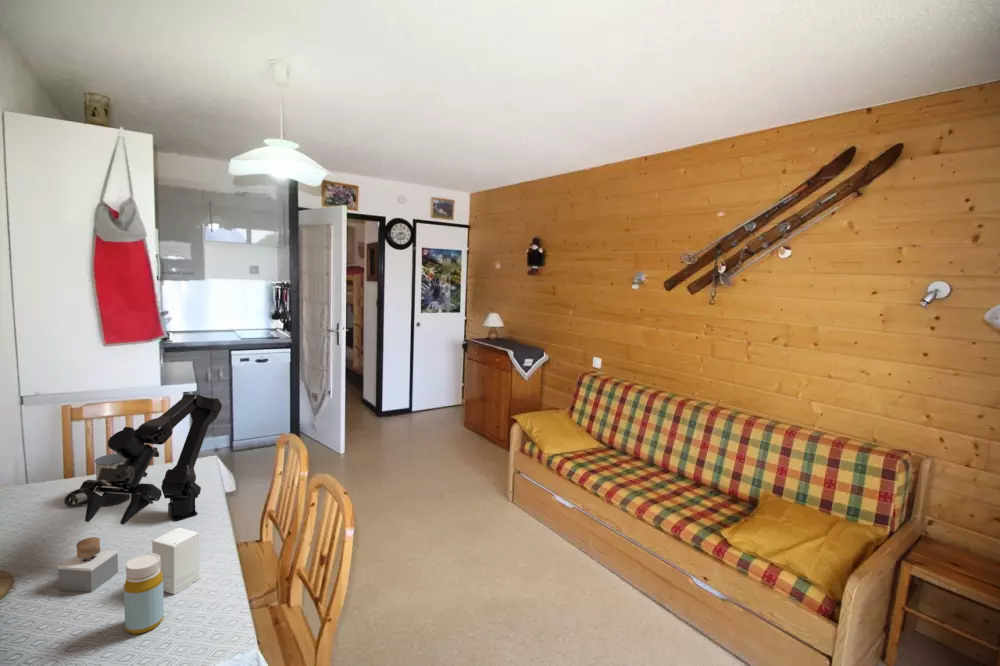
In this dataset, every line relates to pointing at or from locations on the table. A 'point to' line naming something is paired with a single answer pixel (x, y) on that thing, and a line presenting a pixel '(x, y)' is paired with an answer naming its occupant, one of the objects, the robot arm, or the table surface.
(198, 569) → the supplement box
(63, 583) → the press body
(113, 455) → the milk frother
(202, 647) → the table surface
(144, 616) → the bottle
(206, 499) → the table surface
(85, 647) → the table surface
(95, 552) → the plunger
